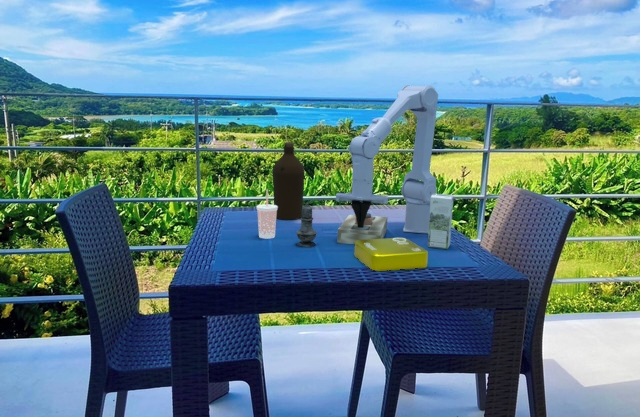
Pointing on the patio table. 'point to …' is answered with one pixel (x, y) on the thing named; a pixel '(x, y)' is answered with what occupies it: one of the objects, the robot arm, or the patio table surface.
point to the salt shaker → (306, 228)
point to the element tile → (390, 254)
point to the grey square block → (351, 235)
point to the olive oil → (288, 185)
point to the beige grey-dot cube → (367, 220)
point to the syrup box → (440, 221)
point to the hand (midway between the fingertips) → (360, 227)
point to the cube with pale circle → (361, 228)
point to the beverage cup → (267, 219)
